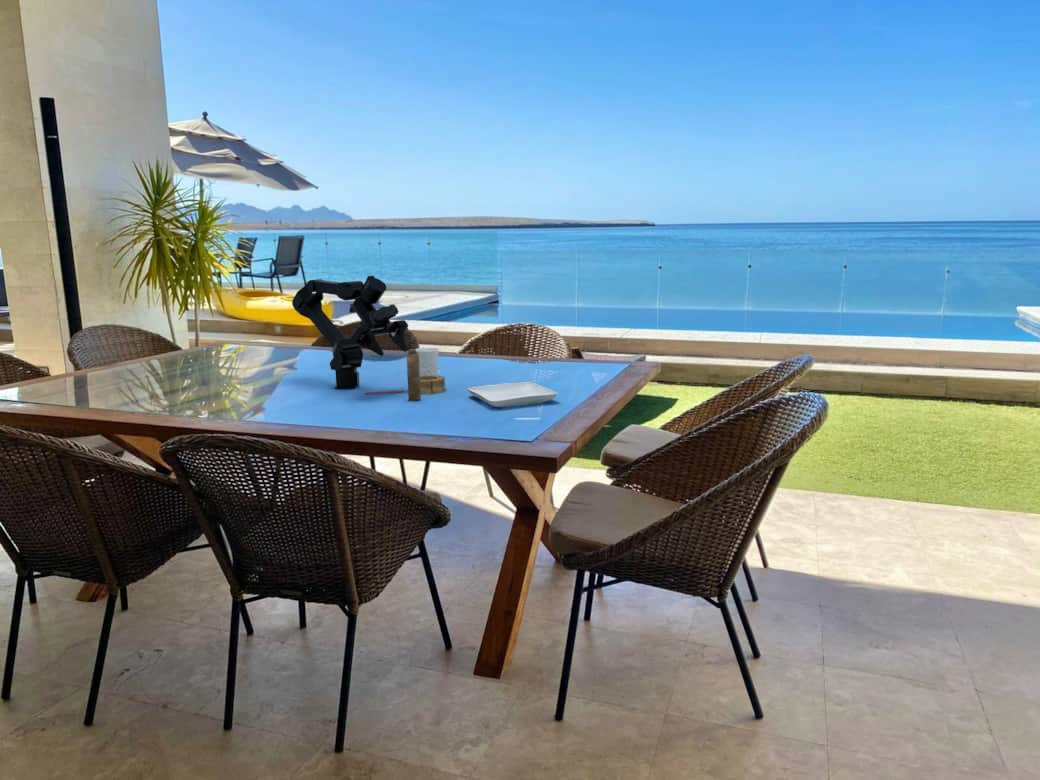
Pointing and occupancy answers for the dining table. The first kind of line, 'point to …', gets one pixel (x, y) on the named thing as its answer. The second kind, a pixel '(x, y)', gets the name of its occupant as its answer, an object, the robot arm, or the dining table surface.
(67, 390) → the dining table surface
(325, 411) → the dining table surface
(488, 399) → the salad plate
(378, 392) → the brick-red rectangular plank
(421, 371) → the white cup
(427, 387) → the tan segmented ring
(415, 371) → the tall brown cylinder
